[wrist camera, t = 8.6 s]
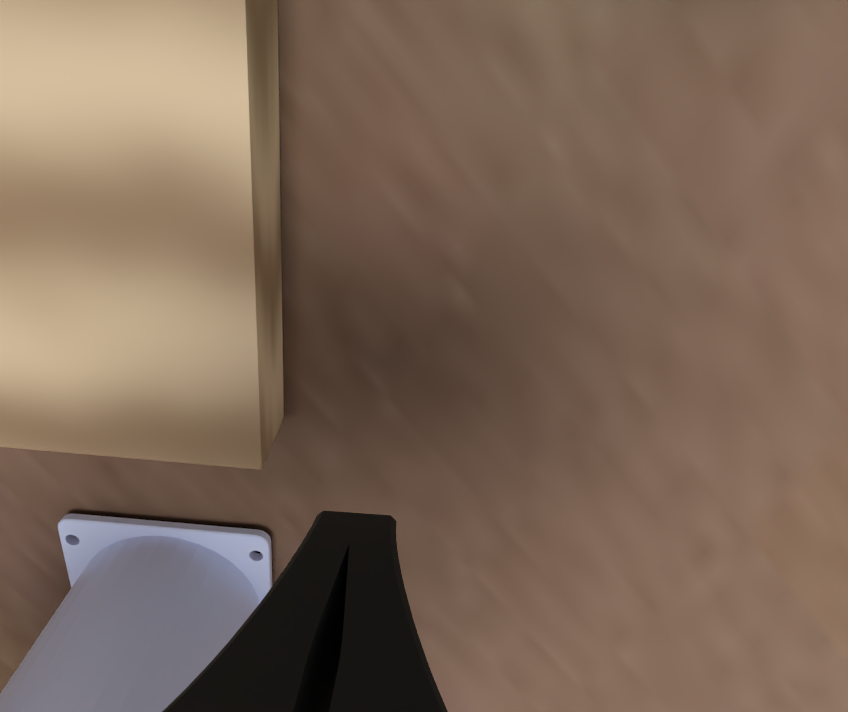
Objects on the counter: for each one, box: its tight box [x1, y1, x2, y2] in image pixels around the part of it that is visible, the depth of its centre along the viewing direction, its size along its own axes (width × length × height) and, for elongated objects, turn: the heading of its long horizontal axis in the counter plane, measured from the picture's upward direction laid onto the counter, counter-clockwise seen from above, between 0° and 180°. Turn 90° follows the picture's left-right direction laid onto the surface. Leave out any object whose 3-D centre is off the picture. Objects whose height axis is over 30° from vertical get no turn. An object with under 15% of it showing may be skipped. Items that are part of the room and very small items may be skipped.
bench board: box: [0, 0, 284, 470], centre depth 18 cm, size 14×14×3 cm
